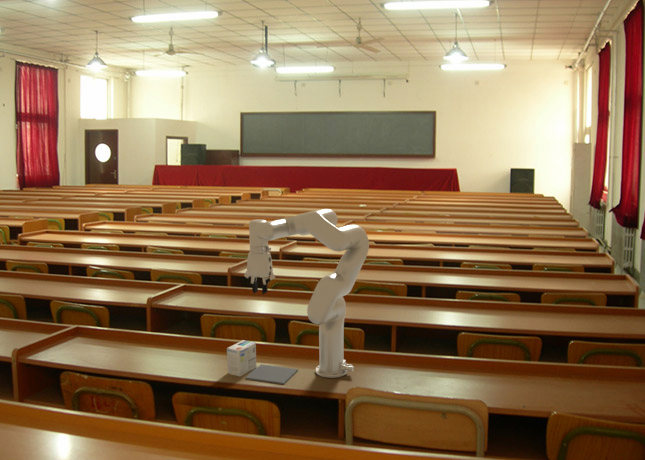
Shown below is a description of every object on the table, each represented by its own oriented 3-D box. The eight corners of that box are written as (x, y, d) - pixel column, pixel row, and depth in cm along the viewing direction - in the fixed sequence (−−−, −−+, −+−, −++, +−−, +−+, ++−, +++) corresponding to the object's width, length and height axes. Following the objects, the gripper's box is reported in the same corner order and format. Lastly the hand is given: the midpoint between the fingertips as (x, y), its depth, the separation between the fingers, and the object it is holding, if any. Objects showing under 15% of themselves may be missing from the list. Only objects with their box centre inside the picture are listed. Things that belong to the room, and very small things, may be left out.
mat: (297, 370, 246) (297, 369, 246) (284, 384, 233) (284, 383, 233) (261, 365, 251) (261, 364, 251) (245, 378, 238) (245, 377, 238)
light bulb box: (243, 364, 252) (243, 339, 251) (257, 367, 249) (256, 342, 247) (226, 373, 243) (226, 347, 242) (240, 377, 240) (239, 350, 238)
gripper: (281, 249, 256) (281, 292, 259) (244, 246, 262) (246, 289, 265) (273, 252, 249) (274, 297, 252) (236, 250, 255) (237, 293, 258)
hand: (259, 292), depth 258 cm, fingers open, 3 cm apart
